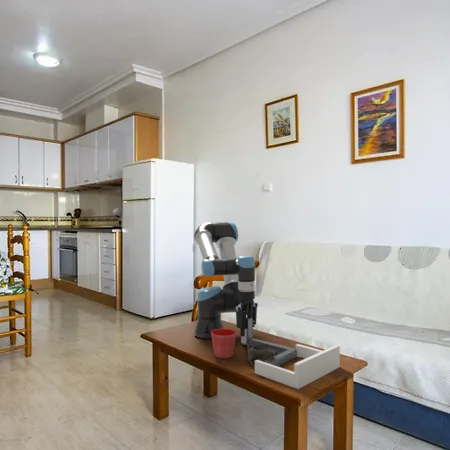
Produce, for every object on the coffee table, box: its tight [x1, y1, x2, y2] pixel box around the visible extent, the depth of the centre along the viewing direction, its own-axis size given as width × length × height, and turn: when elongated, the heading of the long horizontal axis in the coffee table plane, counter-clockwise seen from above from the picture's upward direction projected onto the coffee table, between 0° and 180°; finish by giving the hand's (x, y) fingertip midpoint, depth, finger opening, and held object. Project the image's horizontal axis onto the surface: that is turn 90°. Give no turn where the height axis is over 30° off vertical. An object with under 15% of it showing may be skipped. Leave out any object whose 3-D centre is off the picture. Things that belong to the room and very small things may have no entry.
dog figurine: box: [246, 345, 276, 367], centre depth 145 cm, size 12×6×7 cm, turn 86°
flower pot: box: [211, 328, 237, 359], centre depth 156 cm, size 11×11×10 cm
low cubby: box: [254, 343, 341, 390], centre depth 139 cm, size 19×27×8 cm
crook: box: [241, 316, 298, 367], centre depth 154 cm, size 27×19×12 cm
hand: (246, 342), depth 168 cm, fingers closed on crook, 3 cm apart
